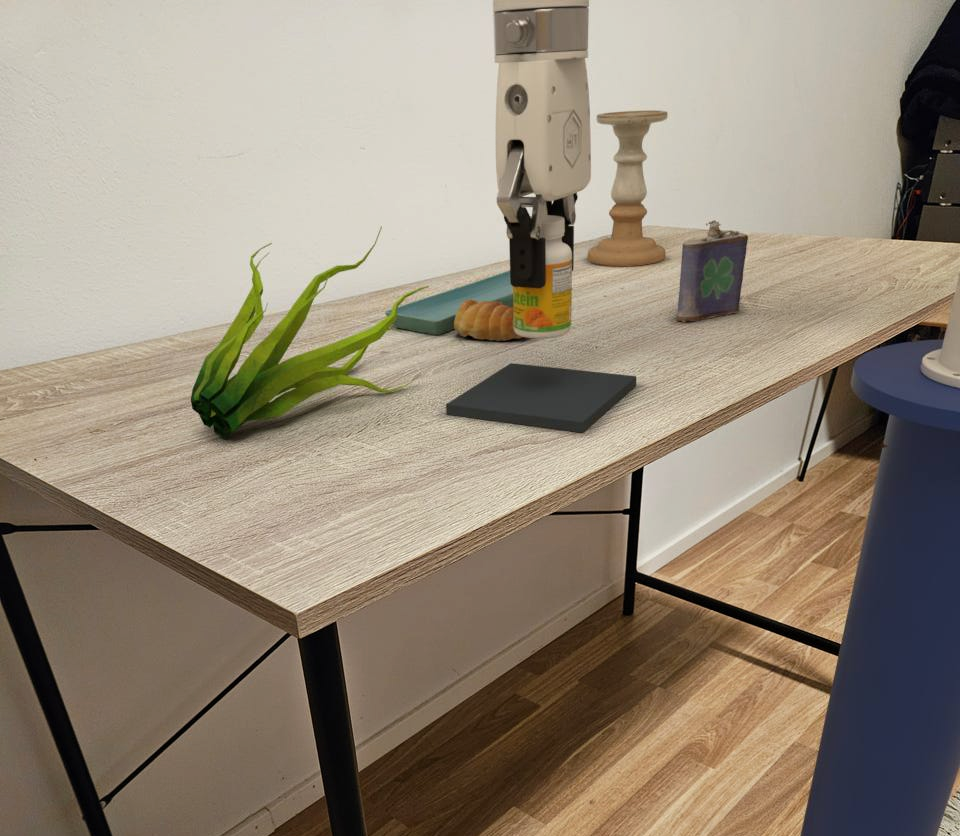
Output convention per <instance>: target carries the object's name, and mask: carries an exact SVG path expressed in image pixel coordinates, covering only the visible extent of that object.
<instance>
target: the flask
mask: <svg viewBox="0 0 960 836" xmlns="http://www.w3.org/2000/svg"><path fill="white" fill-rule="evenodd" d="M708 225H709V228H708V231H706V235H707V237H701V238H697V239H691V240H687V241H684V242H683V243H682V248H681V249H682V250H681V251H682V253H681V263H680V274H679V275H680V276H679V291H678V301H677V311H676V320H677V321H678V322H682V323H686V322H699V320H705V319H707V320H708V319H714V318H715V317H717V316H721V317H722V316H724V315H730V314H737V313H739V312H740V301H741V292H742V286H743V280H744V269H745V264H746V263H745V262H746V255H747V246H748V241H749V236H748V234H745V233H742V232H739V231H738V230H731V229H730V230H725V231H723V230H721V229H720V226H722V225H721V223H720V221H719V220H718V221H717V220H716V219H714V220H711V221H708V223H705V226H708Z"/></svg>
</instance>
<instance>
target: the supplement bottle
mask: <svg viewBox="0 0 960 836" xmlns="http://www.w3.org/2000/svg"><path fill="white" fill-rule="evenodd" d="M530 217H531V218H532V215H530ZM564 232H565V220H564V218H563V217H561V216H553V215H543V222H542V230H541V236H540V238H545V250H546V284H545V286H544V287H542V288H527V287H514V286H513V307H512V308H513V316H514V331H515V333H516V334H517V335H519V336H522V338H527V339H541V340H542V339H544V340H545V339H554V338H555V339H556V338H559V337H562V336H565V335H567V334H568V333H569V332H570V331H571V329H572V302H573V301H572V298H573V297H572V295H573V294H572V291H573V271H572V251H571V248H570V247H569V246H568V245H567V244H565V243H563V242H562V236H564Z"/></svg>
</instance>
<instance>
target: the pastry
mask: <svg viewBox="0 0 960 836" xmlns="http://www.w3.org/2000/svg"><path fill="white" fill-rule="evenodd" d="M453 330H455V332H457V334H459V336H461V337H462V338H463V337H464V338H467V336H470V337H472V338H473V339H477V340H489V341H490V342H492V341H496V342H498V341H501V342H506V341H510V340H511V339H522V338H523V337H522V336H519V335H517V334H516V333H515V331H514V316H513V307H509V306H506V305H503V304H502V303H501V302H490V301H484V302H477V301H475V300H471V299H470V300H466V301H464V302H463V303H462V304H461V306H460V307H459V308H458V310H457V313H456V316H455V321H454V329H453Z"/></svg>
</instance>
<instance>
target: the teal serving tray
mask: <svg viewBox="0 0 960 836" xmlns="http://www.w3.org/2000/svg"><path fill="white" fill-rule="evenodd" d="M470 299H471V300H475V301H477V302H484V301H490V302H501V303H502V304H503V305H506V306H509V307H512V308H513V286H512V285H511V282H510V269H508V270H506V271H504V272H501V273H498V274H495V275H492V276H488V277H485V278H483V279H480V280H476V281H473V282H470V283H468V284H465V285H462V286H459V287H456V288H453V289H448V290H446V291H443V292H439V293H437V294H434V295H433V294H432V295H430V296H427V297H424V298H422V299H421V298H420V299H418V300H415V301H411V302H408V303H405V304H403V305H399V306H398V309H397V319H396V321H395V322H394V323H393V324H392V325H393V326H394V327H395V328H397V329H402V330H408V331H413V332H418V333H422V334H428V335H433V336H438V335H439V336H440V335H442V334H445V333H447V332H451V331H453V330H455V329H454V321H455V316H456V313H457V310H458V308H459V307H460V306H461V304H462V303H463V302H464V301H466V300H470ZM392 309H393V308H391V309H388V310H385V311H384V314H385V315H386V317H388V316H389V315H391V312H392Z"/></svg>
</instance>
